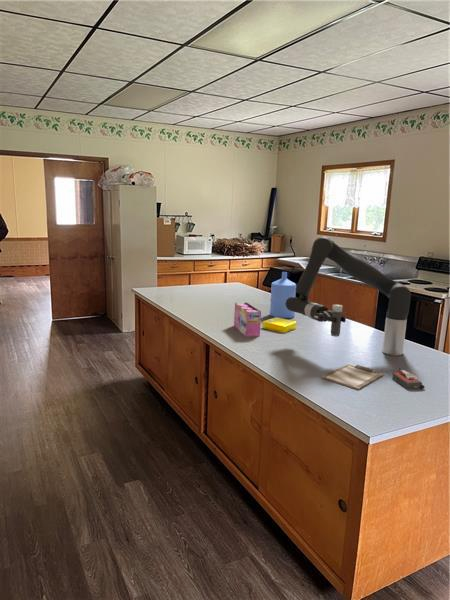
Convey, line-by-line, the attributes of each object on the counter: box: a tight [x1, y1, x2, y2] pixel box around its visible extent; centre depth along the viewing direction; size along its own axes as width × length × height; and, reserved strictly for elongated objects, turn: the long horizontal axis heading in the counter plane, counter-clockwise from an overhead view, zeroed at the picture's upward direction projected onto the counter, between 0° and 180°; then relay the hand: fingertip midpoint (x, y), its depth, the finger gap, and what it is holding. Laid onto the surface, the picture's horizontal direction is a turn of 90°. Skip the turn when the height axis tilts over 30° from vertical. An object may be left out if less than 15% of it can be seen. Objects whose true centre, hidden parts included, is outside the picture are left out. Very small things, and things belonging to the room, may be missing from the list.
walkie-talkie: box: [392, 368, 425, 390], centre depth 176 cm, size 9×4×20 cm
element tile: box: [262, 317, 297, 334], centre depth 248 cm, size 15×15×5 cm
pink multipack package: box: [233, 302, 262, 338], centre depth 240 cm, size 24×8×14 cm, turn 16°
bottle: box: [330, 304, 344, 337], centre depth 191 cm, size 4×4×14 cm
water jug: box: [269, 271, 297, 319], centre depth 275 cm, size 16×16×28 cm
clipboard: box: [320, 363, 385, 391], centre depth 177 cm, size 22×16×2 cm
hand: (340, 320), depth 188 cm, fingers closed on bottle, 4 cm apart
